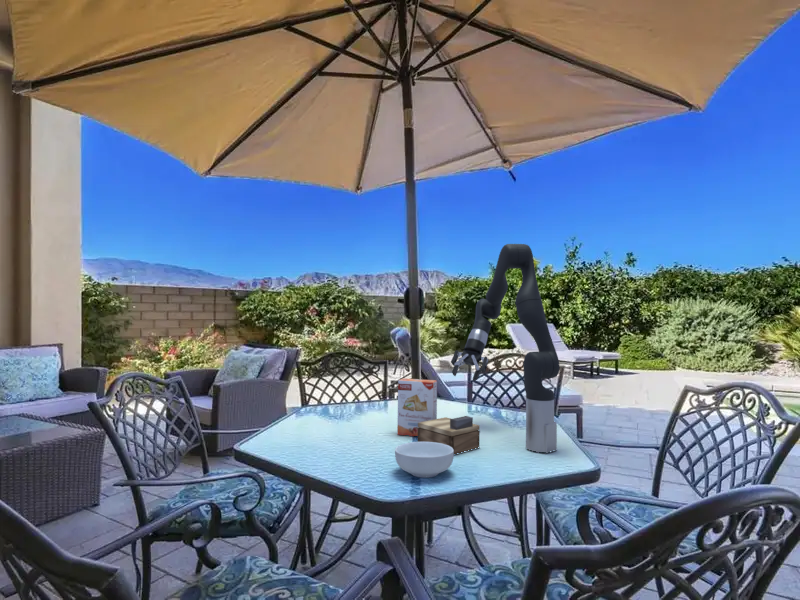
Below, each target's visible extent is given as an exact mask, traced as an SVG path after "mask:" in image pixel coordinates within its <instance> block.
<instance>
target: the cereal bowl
mask: <svg viewBox="0 0 800 600" xmlns="http://www.w3.org/2000/svg"><path fill="white" fill-rule="evenodd" d="M394 457H395V461H396V463H397V465H398V466H399V468H400V469H401V470H403V471H405V472H406V473H409V474H410V475H412V476H414V477H417V478H427V479H428V478H433V477H436V476H438V475H439V474H440V473H443V472H445V471H447V470H448V469H449V468H450V467H451V465H452V463H453V460H454V457H455V455H454V450H453V448H452V447H450V446H448V445H445V444H442V443H436V442H418V441H412V442H406V443H402V444H400V445H397V446H396V447H395V449H394Z"/></svg>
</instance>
